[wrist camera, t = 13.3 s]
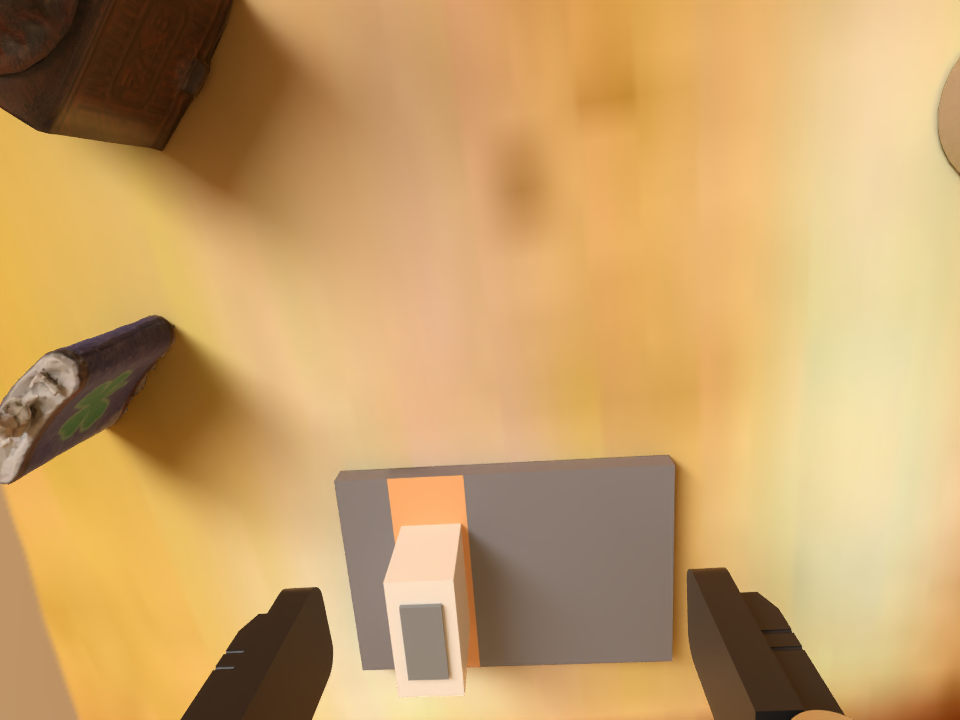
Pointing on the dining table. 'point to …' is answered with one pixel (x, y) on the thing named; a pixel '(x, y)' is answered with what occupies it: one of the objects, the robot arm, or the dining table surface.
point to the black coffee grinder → (106, 65)
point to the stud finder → (428, 611)
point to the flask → (77, 393)
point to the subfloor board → (528, 555)
